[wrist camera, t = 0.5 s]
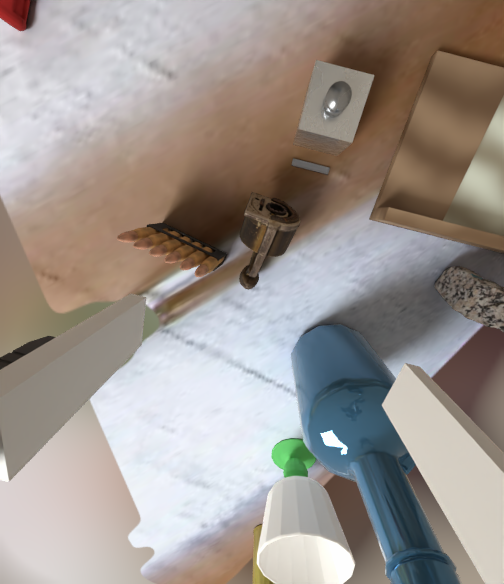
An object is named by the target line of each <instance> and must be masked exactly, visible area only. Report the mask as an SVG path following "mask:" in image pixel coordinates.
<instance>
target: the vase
mask: <svg viewBox="0 0 504 584" xmlns="http://www.w3.org/2000/svg"><path fill="white" fill-rule="evenodd" d="M262 525H263V524H262ZM262 525H259V526H257V527H256V528H255V529H254V550H253V584H275V583H274V582H272V581H271V580H269V579H268V578H267V577H265V576H264V575H263V573H262V572H261V570H260V568H259V567H258V565H257V552H258V546H259V541H260V536H261V530H262Z"/></svg>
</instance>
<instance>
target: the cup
mask: <svg viewBox="0 0 504 584" xmlns="http://www.w3.org/2000/svg"><path fill="white" fill-rule="evenodd" d="M272 459H273V461H274V463H275V464H276V465H277V466H278V467H279V468H281V469H283V470H284V472H283V473H284V477H285V478H283V479H281V480H279V481H278V482H276V483H275V484H274V486H273V487H272V489H271V490H270V492H269V493H268V497H267V503H266V508H265V514H264V519H263V525H262V530H261V536H260V541H259V546H258V552H257V565H258V567H259V568H260V570H261V572H262V573H263V575H264V576H265V577H267V578H268V579H269V580H271V581H272V582H274V583H275V584H343V583H344V582H345V581H347V580H348V579H349V578H350V577H351V576H352V573H353V570H354V566H355V561H354V559H353V556H352V553H351V551H350V548H349V546H348V543H347V541H346V538H345V536H344V533H343V531H342V528H341V526H340V523H339V520H338V518H337V515H336V513H335V510H334V508H333V505H332V503H331V500H330V498H329V495H328V493H327V491H326V490H325V489H324V488H323V487H322V486H321V485H320V484H319V483H318V482H317V481H315V480H313V479H310V478H308V471H307V469H308V468H310V467H311V466H312V465H313V464H314V463H315V461H316V458H315V456H314V455H313V454H312V453H311V452H310V451H309V449H308V448H307V447H306V445H305V443H304V442H303V440H301V439H287V440H283V441H281V442H279V443H278V444H276V445H275V447H274V448H273V450H272Z"/></svg>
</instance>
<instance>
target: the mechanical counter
mask: <svg viewBox="0 0 504 584" xmlns="http://www.w3.org/2000/svg"><path fill="white" fill-rule="evenodd" d="M244 215H245V219H244V222H243V226H242V229H241V232H240V238H241V240H242V242H243V243H244V244H245V245H246V246H247V247H248V248H250V249H251V250H253V255H252V258H251V262H250V265H248V266H246V267H245V268H244V269H243V270H242V272H241V274H240V278H239V280H240V284H241V285H242V286H243V287H244V288H245V289H252V288H253V287H255V285H256V284H257V282H258V280H259V274H258V272H259V270H260V268H261V266H262V264H263V261H264V259H265V257H266V256H273V257H277V256H281V255H282V254H284V253H285V251H286V249H287V248H288V246H289V244H290V242H291V240H292V238H293V236H294V234H295V232H296V229H297V228H298V227H299V225H300V217H299V215H298V213H297V212H296V211H295V210H293V209H292V207H290V206H289V205H288V204H286V203H285V202H284V201H280V200H279V199H277V198H272V199H271V198H268V197H265V196H262V195H260V194H257V193H254V192H252V193H251V196H250V199H249V202H248V205H247V207H246V210H245V213H244Z"/></svg>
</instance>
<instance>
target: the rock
mask: <svg viewBox="0 0 504 584" xmlns="http://www.w3.org/2000/svg"><path fill="white" fill-rule="evenodd" d="M435 289H436V290H437V291H438V292H439V293H440V294H441V296H442V297H443V299H444V300H445V301H446V302H447V303H448V304H449V305H450V306H451V307H452V309H453V310H455V311H458V312H459V313H461V314H462V315H463V316H465V317H466V318H468V319H471V320H474V321H476V322H478V323H481V324H483V325H485V326H488V327H495V328H497V329H500V330H501V331H503V332H504V287H501V286H499V285H497V284H496V283H494V282H492V281H489V280H486V279H483V278H482V277H481V276H480V275H478V274H476V273H474V272H473V271H471V270H469V269H467V268H464V267H460V266H453V267H450V268H448V269H446V270H445V271H444V272H443V274H442V275H441V277H440V278H439V279H438V280H437V281H436V282H435Z"/></svg>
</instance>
